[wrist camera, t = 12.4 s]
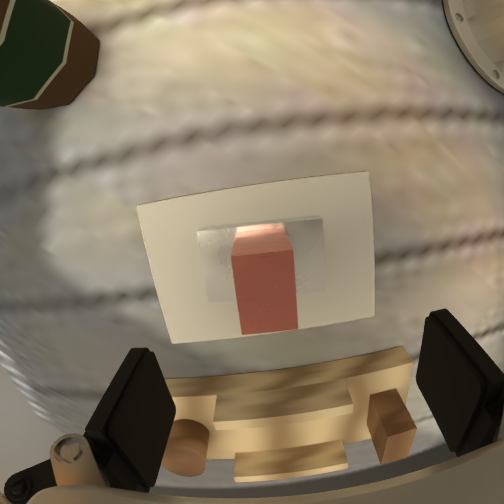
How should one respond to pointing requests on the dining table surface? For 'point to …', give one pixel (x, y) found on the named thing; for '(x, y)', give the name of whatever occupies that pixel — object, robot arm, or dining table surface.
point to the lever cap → (264, 268)
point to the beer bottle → (43, 55)
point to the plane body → (292, 417)
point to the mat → (259, 209)
